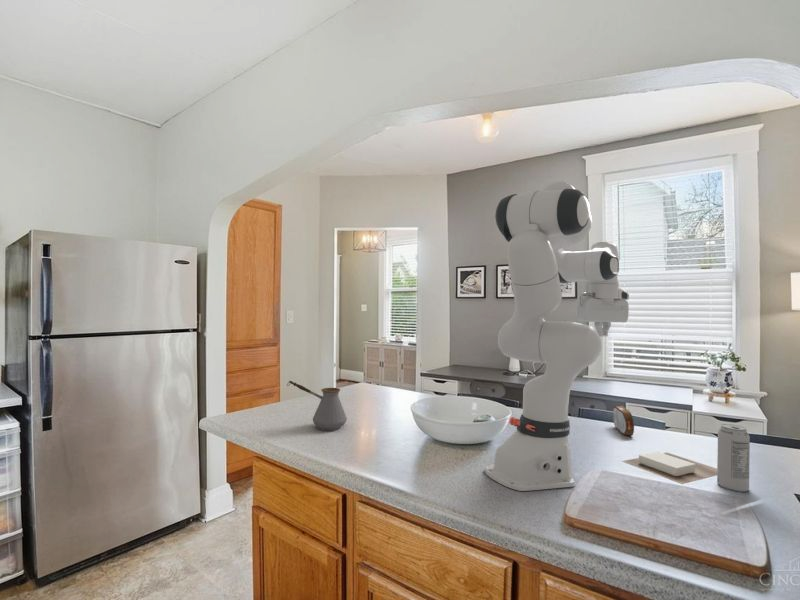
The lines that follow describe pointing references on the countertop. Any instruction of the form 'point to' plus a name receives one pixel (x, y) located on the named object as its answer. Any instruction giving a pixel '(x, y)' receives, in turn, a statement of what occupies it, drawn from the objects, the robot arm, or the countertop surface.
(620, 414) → the tin
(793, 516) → the countertop surface
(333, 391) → the coffee pot
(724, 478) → the energy drink can
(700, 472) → the board
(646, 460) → the tile
